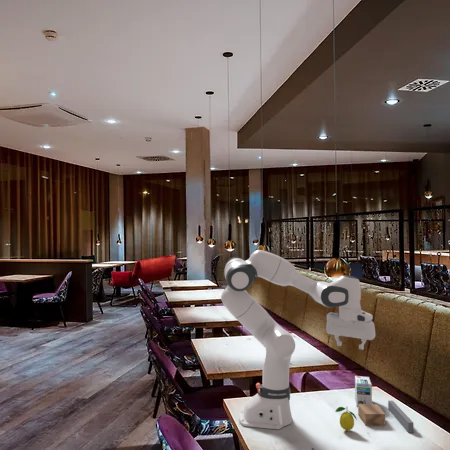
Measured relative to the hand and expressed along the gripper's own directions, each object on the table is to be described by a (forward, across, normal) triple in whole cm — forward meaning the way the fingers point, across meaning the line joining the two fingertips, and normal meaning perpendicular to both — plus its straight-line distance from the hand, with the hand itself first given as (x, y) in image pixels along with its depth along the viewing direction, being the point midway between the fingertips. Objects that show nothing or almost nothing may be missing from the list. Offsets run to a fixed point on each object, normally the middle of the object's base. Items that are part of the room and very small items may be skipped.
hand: (350, 347), depth 185 cm
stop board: (+31, +16, +13) cm, 37 cm away
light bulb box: (+31, -2, +21) cm, 38 cm away
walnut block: (+31, +7, +6) cm, 32 cm away
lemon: (+31, +2, -10) cm, 32 cm away
